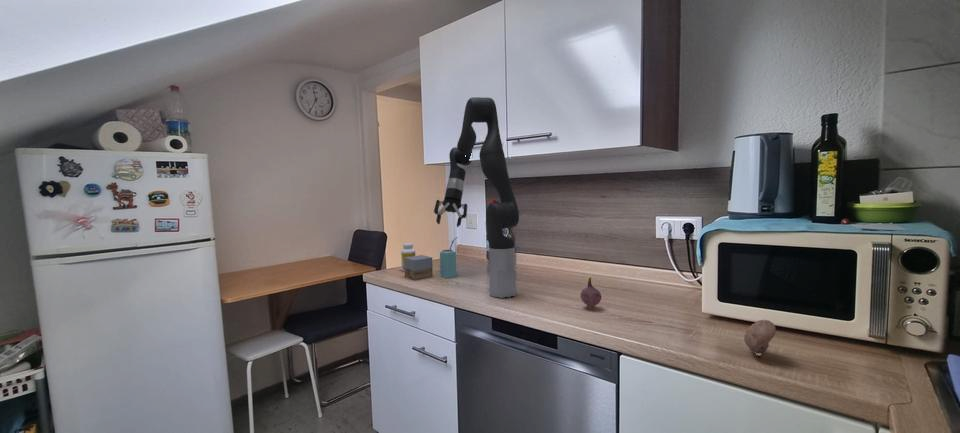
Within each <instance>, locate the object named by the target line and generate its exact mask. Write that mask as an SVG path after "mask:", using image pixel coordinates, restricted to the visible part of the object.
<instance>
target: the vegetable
mask: <svg viewBox="0 0 960 433" xmlns="http://www.w3.org/2000/svg"><path fill="white" fill-rule="evenodd" d="M580 299H581V301H582V302H583V304H585V305H586V306H587V307H588V306H590V307H592V308H594V307H596V306H597V305H599V304H600V303H601V301H602V294H601V292H600V291H599V290H598V289H597V288H595V287H594V286H593V284H592V277H589V278H588V280H587V287H585V288H583V289H582V290H581V292H580ZM593 306H594V307H593ZM590 307H589V308H590Z"/></svg>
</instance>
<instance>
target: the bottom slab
mask: <svg viewBox="0 0 960 433" xmlns="http://www.w3.org/2000/svg"><path fill="white" fill-rule="evenodd" d="M404 270H405V272H404V278H407V279H408V280H409V279H410V280H412V281H415V282H416V281H420V280H426V279H430V278H433V277H434V276H433V270H434V269H433V268H428V269H422V270H417V271H413V270H410V269H407V268H404Z"/></svg>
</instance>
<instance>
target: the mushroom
mask: <svg viewBox="0 0 960 433" xmlns="http://www.w3.org/2000/svg"><path fill="white" fill-rule="evenodd" d="M776 332H777V329H776V325H775V323H773V322H772V321H770V320H768V319H759V320H757V321H756V322H754V323H752V324H751V325H750V326H749V327H748V328H747V330H746V331H745V334H744V340H743V341H744V343H745V344H746V346H747V347H748V348H749V350H750V351H752V352H753V353H754V352H756V353H763V354H764V353H765V352H767V351H768V349H769V345H770V344H769V343H770V342H771V341H772V339H774V337H775V334H776Z"/></svg>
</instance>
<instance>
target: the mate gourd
mask: <svg viewBox="0 0 960 433" xmlns="http://www.w3.org/2000/svg"><path fill="white" fill-rule="evenodd" d="M457 239H458V236H456V237H455V238H454V239H453V240H451V245H450V247H449V249H443V250H441V252H444V251H453V250H452V247H453V244H454V242H455V240H457Z"/></svg>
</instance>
